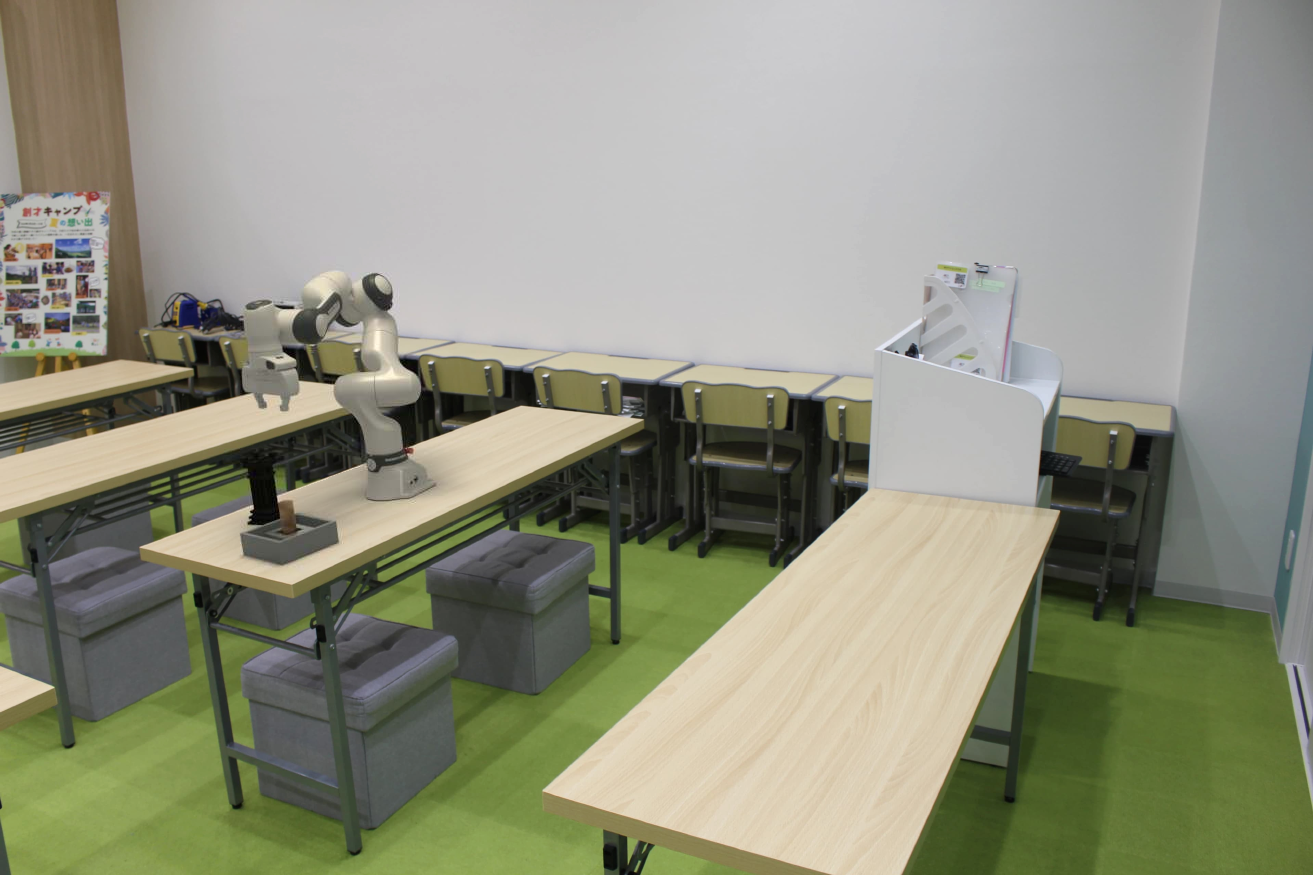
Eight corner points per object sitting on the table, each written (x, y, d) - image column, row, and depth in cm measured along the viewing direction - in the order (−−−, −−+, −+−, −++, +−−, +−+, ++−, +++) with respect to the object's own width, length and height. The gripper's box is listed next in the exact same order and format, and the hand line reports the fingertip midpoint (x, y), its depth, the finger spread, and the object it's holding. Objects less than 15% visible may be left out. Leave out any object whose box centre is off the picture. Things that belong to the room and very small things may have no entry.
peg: (292, 541, 253) (286, 499, 250) (301, 543, 251) (295, 501, 248) (281, 545, 250) (275, 503, 247) (290, 547, 248) (284, 505, 245)
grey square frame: (294, 536, 257) (292, 522, 256) (316, 541, 252) (314, 527, 251) (266, 547, 249) (263, 533, 248) (288, 553, 245) (285, 538, 244)
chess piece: (272, 525, 270) (262, 458, 265) (247, 524, 271) (237, 458, 266) (288, 516, 277) (278, 451, 272) (264, 515, 279) (254, 450, 274)
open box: (300, 533, 263) (297, 512, 261) (338, 541, 254) (336, 521, 253) (243, 554, 248) (240, 533, 246) (282, 564, 240) (279, 542, 238)
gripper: (232, 360, 260) (240, 409, 263) (280, 364, 249) (287, 415, 253) (252, 356, 265) (259, 404, 268) (300, 360, 255) (307, 410, 258)
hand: (273, 409), depth 261 cm, fingers open, 8 cm apart
